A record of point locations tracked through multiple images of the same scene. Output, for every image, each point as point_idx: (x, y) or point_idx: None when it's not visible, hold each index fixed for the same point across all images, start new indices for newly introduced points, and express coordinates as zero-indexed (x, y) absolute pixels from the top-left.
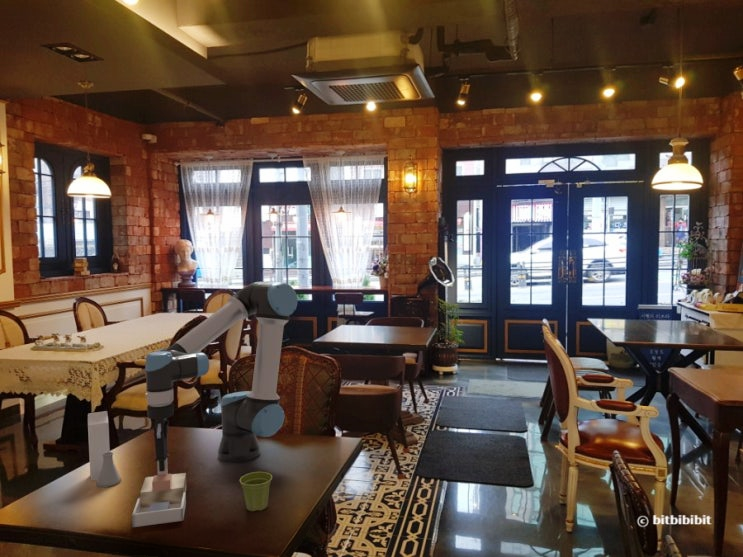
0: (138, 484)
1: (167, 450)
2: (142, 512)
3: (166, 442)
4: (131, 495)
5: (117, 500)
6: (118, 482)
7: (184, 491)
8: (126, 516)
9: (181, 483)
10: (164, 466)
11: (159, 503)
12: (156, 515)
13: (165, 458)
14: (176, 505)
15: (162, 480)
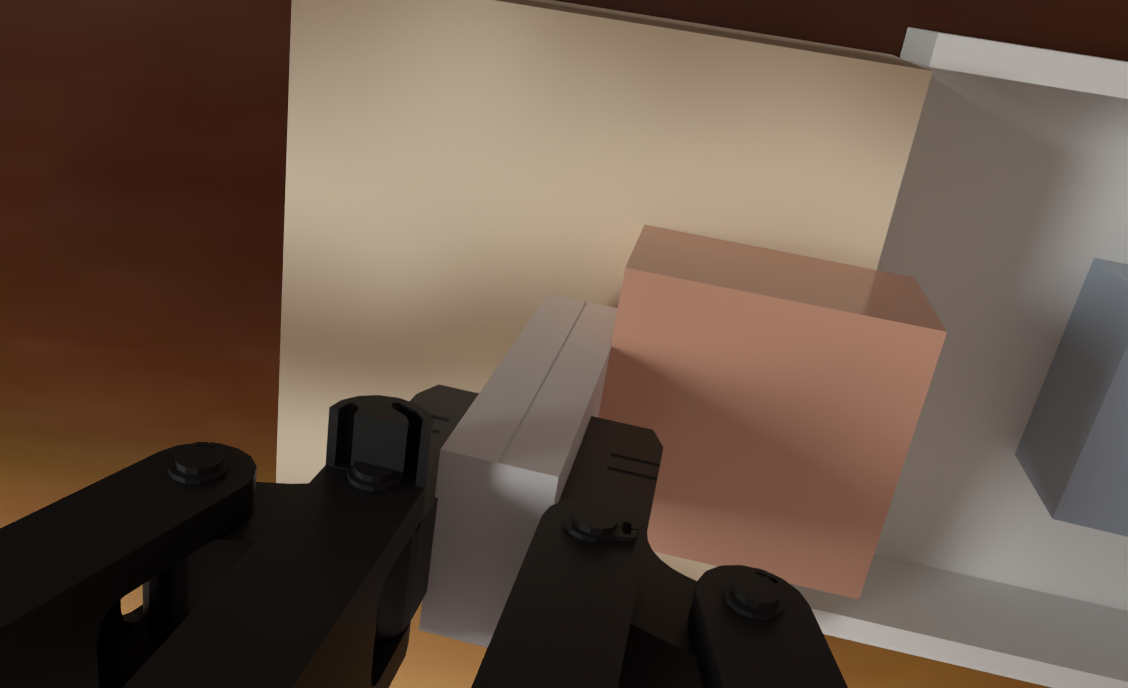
0: (107, 473)
1: (204, 471)
2: (909, 529)
3: (142, 685)
4: None
5: (432, 673)
6: None
7: (722, 31)
8: (865, 651)
9: (731, 83)
10: (605, 454)
11: (1124, 426)
12: None
13: (775, 587)
14: (945, 159)
15: (887, 451)
